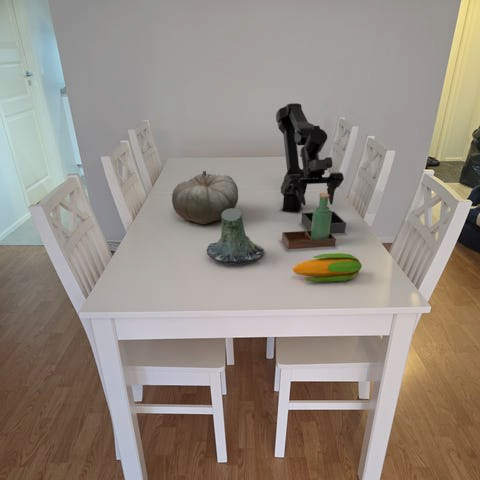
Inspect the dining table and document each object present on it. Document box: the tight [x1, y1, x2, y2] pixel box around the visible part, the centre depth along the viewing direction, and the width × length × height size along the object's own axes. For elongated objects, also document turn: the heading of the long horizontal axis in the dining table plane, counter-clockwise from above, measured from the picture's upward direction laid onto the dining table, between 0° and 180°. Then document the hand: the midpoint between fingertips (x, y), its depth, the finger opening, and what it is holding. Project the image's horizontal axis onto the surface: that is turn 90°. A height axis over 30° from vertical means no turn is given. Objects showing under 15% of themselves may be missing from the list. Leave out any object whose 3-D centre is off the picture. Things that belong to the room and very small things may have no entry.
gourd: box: [171, 170, 239, 225], centre depth 166 cm, size 25×25×17 cm
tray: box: [300, 210, 347, 235], centre depth 161 cm, size 12×12×4 cm
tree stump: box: [206, 207, 265, 266], centre depth 139 cm, size 18×20×18 cm
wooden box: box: [281, 230, 337, 250], centre depth 150 cm, size 8×16×3 cm, turn 100°
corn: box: [292, 252, 363, 283], centre depth 128 cm, size 7×8×20 cm
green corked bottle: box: [311, 192, 332, 240], centre depth 146 cm, size 6×6×16 cm
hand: (318, 204), depth 149 cm, fingers open, 9 cm apart
